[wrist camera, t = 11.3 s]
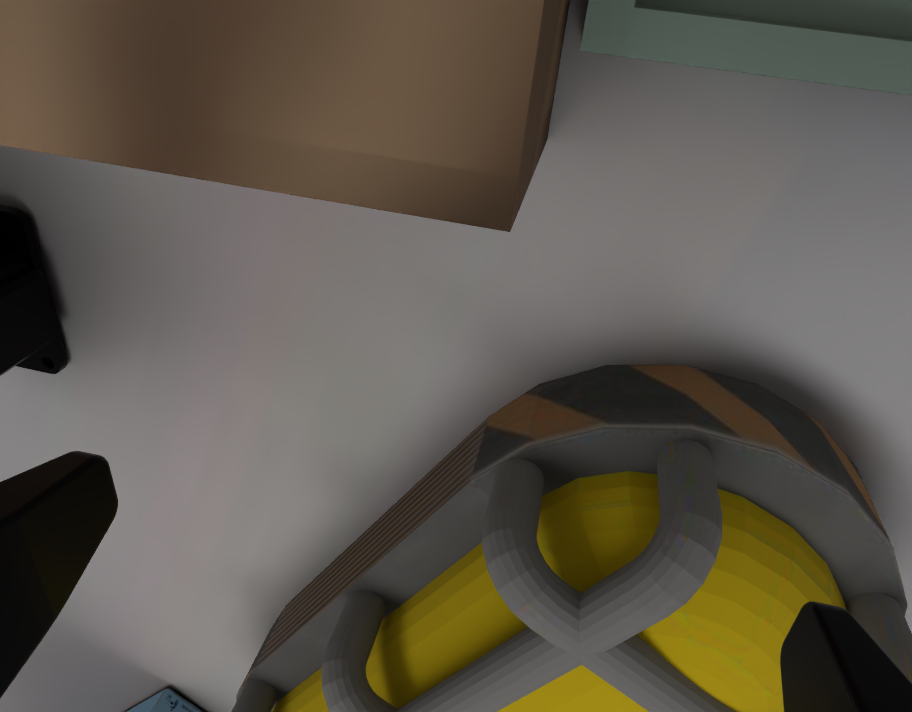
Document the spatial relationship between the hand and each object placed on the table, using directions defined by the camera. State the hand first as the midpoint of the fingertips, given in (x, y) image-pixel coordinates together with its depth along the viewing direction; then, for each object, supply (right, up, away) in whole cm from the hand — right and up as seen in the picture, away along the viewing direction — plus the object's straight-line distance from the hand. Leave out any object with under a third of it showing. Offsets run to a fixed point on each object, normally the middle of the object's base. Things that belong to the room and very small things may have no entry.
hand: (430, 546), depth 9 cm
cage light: (+3, -9, +20) cm, 22 cm away
